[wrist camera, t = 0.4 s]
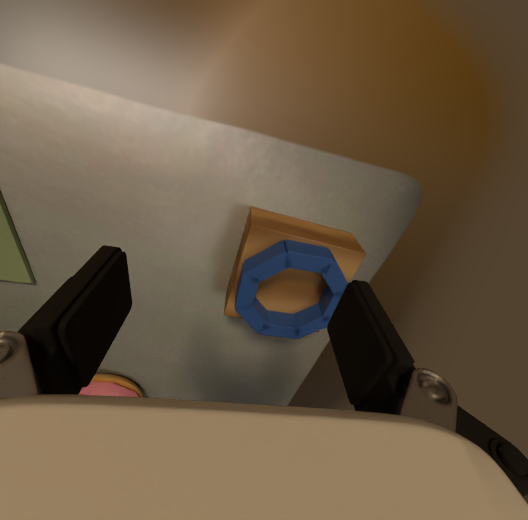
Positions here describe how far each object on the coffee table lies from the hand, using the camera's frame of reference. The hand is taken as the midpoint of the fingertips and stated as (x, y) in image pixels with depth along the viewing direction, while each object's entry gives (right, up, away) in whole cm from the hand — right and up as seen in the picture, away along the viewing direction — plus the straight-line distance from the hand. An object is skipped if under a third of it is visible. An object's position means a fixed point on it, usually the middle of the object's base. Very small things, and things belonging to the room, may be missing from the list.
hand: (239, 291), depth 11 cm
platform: (+3, +1, +17) cm, 18 cm away
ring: (+4, -1, +14) cm, 15 cm away
